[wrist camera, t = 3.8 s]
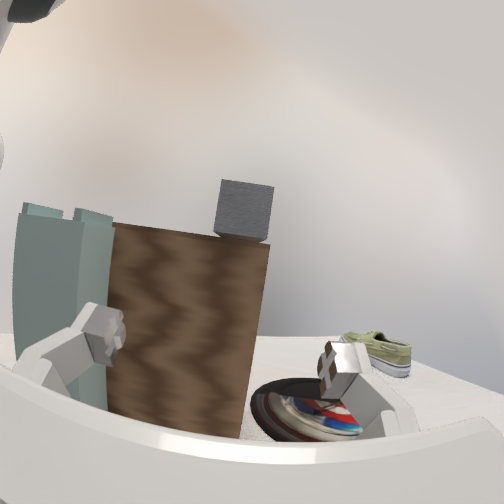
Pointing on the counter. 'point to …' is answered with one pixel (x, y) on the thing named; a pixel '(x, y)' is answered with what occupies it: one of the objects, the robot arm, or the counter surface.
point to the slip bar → (243, 211)
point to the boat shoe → (384, 352)
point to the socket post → (61, 282)
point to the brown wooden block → (184, 327)
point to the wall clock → (302, 412)
